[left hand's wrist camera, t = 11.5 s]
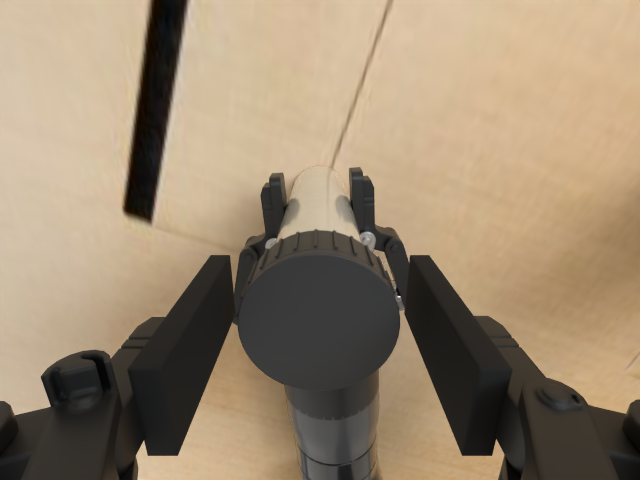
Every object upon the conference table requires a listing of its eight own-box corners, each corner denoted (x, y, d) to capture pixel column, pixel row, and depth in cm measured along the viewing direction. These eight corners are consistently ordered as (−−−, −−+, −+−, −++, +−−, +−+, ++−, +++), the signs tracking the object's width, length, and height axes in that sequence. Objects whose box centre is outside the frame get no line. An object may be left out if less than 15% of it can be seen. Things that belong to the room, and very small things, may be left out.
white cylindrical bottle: (353, 205, 30) (400, 348, 12) (305, 224, 30) (287, 387, 13) (333, 156, 28) (356, 241, 11) (284, 178, 29) (230, 290, 11)
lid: (408, 326, 14) (423, 363, 12) (284, 369, 15) (278, 411, 13) (360, 204, 12) (368, 224, 10) (221, 260, 13) (204, 289, 11)
